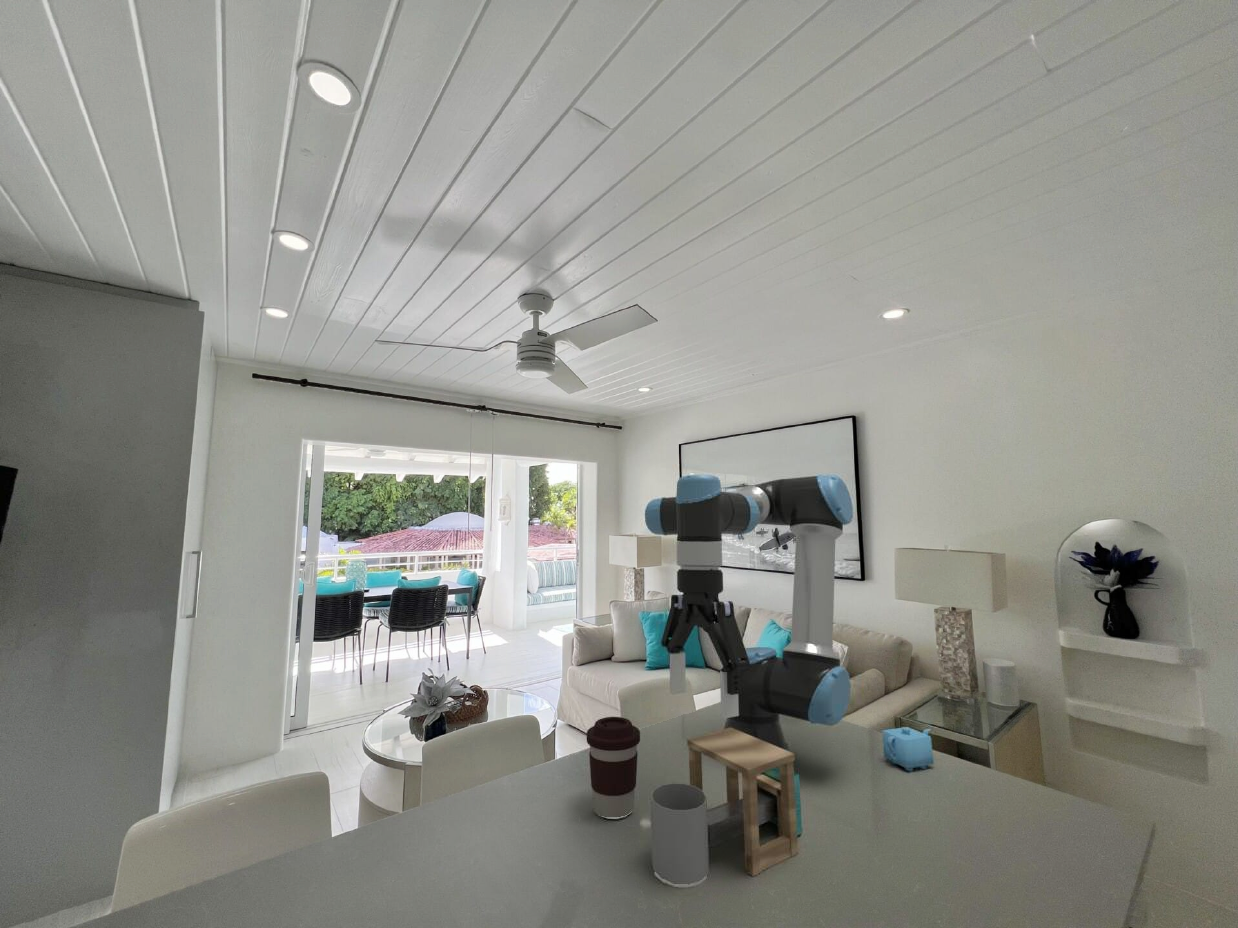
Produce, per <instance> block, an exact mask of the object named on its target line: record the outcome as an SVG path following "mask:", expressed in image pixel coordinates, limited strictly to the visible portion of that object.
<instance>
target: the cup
mask: <svg viewBox="0 0 1238 928" xmlns="http://www.w3.org/2000/svg"><path fill="white" fill-rule="evenodd" d="M707 797H708V796H707V795H706V794H705V792H704V791H702V790H700V789H698V788H697V787H695V786H691V785H690V784H688V783H679V782H671V783H666V784H662V785H659V786H657V787H655V788H653V791H652V793H651V795H650V817H651V818H650V820H651V821H650V822H651V823H650V824H651V826H650V827H651V866H652V865H653V868H654V872H656V873H657V874H658V875H659V876H660V877H661V878H662V879H665V880H667V881H669V882H671V883H673V884H688V885H689V884H691V883H695V882H699V881H700V880H702V879H703V878H704V877H705V876H706V875H707V873H708V869H709V870H710V866H709V865H710V861H709V860H710V858H709V857H710V855H709V846H708V819H707V810H708V798H707ZM708 874H709V873H708Z"/></svg>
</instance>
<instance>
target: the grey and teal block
mask: <svg viewBox="0 0 1238 928" xmlns="http://www.w3.org/2000/svg"><path fill="white" fill-rule="evenodd" d="M761 774H763V775H765V776H767V777H769V778H771V779H773V780H776V781H778V782H780V766H778V767H776V768H773V769H770V770H767V771H765V772H762V773H761ZM794 786H795V805H796V823H797V836H800V835H802V834H803V825H802V807H801V788H800V775H799V773H796V772H794ZM757 803H758V825H759V826H761V825H763V824H765V823H768V822H771V823H773V824H775V825H777V826H778V809H777V796H776V795H774V794H772V793H770V792H768V791H767V790H765V789H764V790H763V791H760V792H758V793H757ZM707 819H708V847H710V848H712V847H714V846H716V845H718V844H721V843H723V842H725V841H727V840H730V839H731V838H734V837H736V836H739V835H741V834H744V816H743V797H742V798H739V800H737V801H735V802H732V803H730V804H727V805H725V806H722V807H720V808H717V809H715V810H712V811H710V812H707Z"/></svg>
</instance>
